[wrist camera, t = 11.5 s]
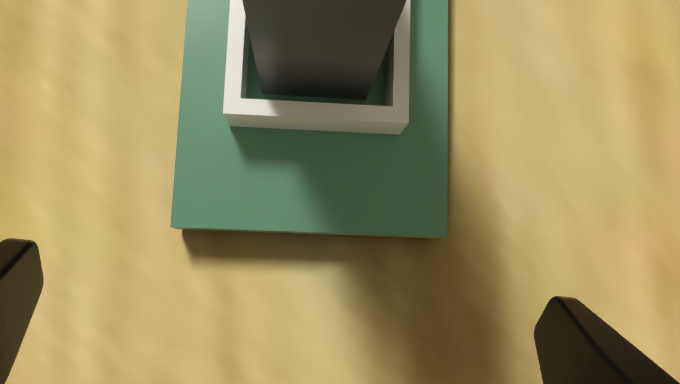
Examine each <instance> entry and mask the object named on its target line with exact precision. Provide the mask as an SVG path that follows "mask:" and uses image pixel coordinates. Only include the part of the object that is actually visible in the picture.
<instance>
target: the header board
mask: <svg viewBox="0 0 680 384" xmlns="http://www.w3.org/2000/svg"><path fill="white" fill-rule="evenodd" d="M447 156H448V0H406V3H405V5H404V8H403V10H402V13H401V15H400V18H399V20H398V23H397V25H396V27H395V30H394V32H393V35H392V37H391V40H390V42H389V45H388V47H387V50H386V52H385V54H384V57H383V59H382V62H381V64H380V67H379V69H378V72H377V74H376V77H375V79H374V81H373V84H372V86H371V89H370V91H369V94H368V96H367V99H366V100H361V99H343V98H325V97H307V96H289V95H271V94H262V90H261V86H260V81H259V76H258V72H257V67H256V62H255V57H254V53H253V48H252V43H251V39H250V34H249V29H248V25H247V20H246V15H245V11H244V6H243V1H242V0H188V3H187V16H186V29H185V42H184V56H183V69H182V82H181V95H180V109H179V122H178V135H177V148H176V162H175V175H174V188H173V201H172V214H171V227H172V228H176V229H189V230H217V231H244V232H272V233H300V234H327V235H355V236H383V237H411V238H438V239H440V238H445V237H447Z"/></svg>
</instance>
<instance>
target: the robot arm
mask: <svg viewBox="0 0 680 384" xmlns="http://www.w3.org/2000/svg"><path fill="white" fill-rule="evenodd" d="M42 288H43V272H42V266H41V260H40V255H39V249H38V246H37V244H36V243H35V242H34V241H31V240H24V239H14V238H9V239H5V240H3V241H1V242H0V384H5V382H6V380H7V378H8V376H9V373H10V371H11V369H12V366H13V364H14V361H15V359H16V356H17V354H18V351H19V349H20V346H21V343H22V341H23V338H24V336H25V333H26V330H27V328H28V325H29V323H30V320H31V318H32V315H33V312H34V310H35V307H36V305H37V302H38V299H39V297H40V294H41V292H42ZM534 339H535V344H536V349H537V355H538V360H539V365H540V370H541V375H542V380H543V384H680V383H679V382H678V381H676V380H675V379H674V378H673V377H671V376H670V375H669V374H668V373H667V372H665V371H664V370H663V369H662V368H660V367H659V366H658V365H657V364H656V363H654V362H653V361H652V360H651V359H650V358H648V357H647V356H646V355H645V354H643V353H642V352H641V351H640V350H639V349H637V348H636V347H635V346H634V345H632V344H631V343H630V342H629V341H628V340H626V339H625V338H624V337H623V336H621V335H620V334H619V333H618V332H617V331H615V330H614V329H613V328H612V327H611V326H609V325H608V324H607V323H606V322H604V321H603V320H602V319H601V318H600V317H598V316H597V315H596V314H595V313H593V312H592V311H591V310H590V309H589V308H587V307H586V306H585V305H584V304H582V303H581V302H580V301H579V300H577V299H575V298H571V297H562V296H555V297H553V298H551V299H550V301H549V302H548V304H547V306H546V308H545V309H544V311H543V313H542V315H541V317H540V318H539V320H538V322H537V324H536V326H535V330H534Z"/></svg>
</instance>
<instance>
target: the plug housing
mask: <svg viewBox="0 0 680 384" xmlns="http://www.w3.org/2000/svg"><path fill="white" fill-rule="evenodd" d="M242 1H243V6H244V11H245V15H246V20H247V25H248V29H249V34H250V39H251V43H252V48H253V53H254V57H255V62H256V67H257V72H258V76H259V81H260V86H261V90H262V94H271V95H289V96H307V97H325V98H343V99H361V100H366V99H367V96H368V94H369V91H370V89H371V86H372V84H373V81H374V79H375V77H376V74H377V72H378V69H379V67H380V64H381V62H382V59H383V57H384V54H385V52H386V50H387V47H388V45H389V42H390V40H391V37H392V35H393V32H394V30H395V27H396V25H397V23H398V20H399V18H400V15H401V13H402V10H403V8H404V5H405V3H406V0H242Z"/></svg>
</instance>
